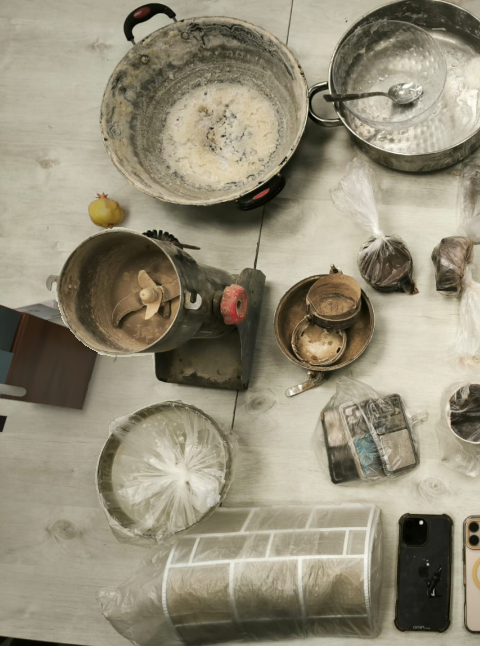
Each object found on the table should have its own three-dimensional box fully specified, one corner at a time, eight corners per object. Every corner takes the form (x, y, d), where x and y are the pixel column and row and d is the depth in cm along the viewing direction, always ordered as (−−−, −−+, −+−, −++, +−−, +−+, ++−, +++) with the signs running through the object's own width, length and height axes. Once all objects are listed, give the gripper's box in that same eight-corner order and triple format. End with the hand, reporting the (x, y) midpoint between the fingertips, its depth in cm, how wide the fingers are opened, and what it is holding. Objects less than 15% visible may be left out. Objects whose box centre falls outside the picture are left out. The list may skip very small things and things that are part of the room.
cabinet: (101, 339, 123) (-25, 294, 90) (81, 409, 120) (-57, 390, 86) (58, 333, 123) (-84, 286, 90) (37, 404, 120) (-118, 382, 87)
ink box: (19, 316, 124) (-16, 304, 115) (69, 305, 125) (39, 292, 115) (20, 326, 123) (-15, 315, 114) (70, 315, 124) (39, 303, 115)
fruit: (121, 222, 123) (112, 183, 125) (87, 227, 121) (78, 188, 123) (130, 235, 130) (121, 198, 132) (97, 241, 127) (89, 203, 129)
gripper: (-89, 387, 68) (45, 406, 91) (-190, 374, 69) (-31, 396, 92) (-110, 448, 67) (32, 451, 90) (-213, 434, 67) (-46, 441, 90)
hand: (0, 423), depth 91 cm, fingers closed
